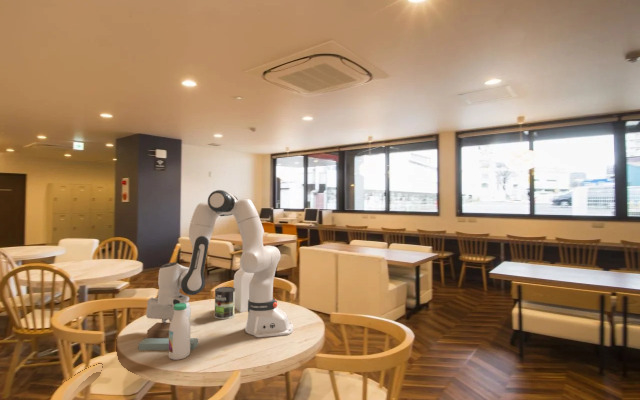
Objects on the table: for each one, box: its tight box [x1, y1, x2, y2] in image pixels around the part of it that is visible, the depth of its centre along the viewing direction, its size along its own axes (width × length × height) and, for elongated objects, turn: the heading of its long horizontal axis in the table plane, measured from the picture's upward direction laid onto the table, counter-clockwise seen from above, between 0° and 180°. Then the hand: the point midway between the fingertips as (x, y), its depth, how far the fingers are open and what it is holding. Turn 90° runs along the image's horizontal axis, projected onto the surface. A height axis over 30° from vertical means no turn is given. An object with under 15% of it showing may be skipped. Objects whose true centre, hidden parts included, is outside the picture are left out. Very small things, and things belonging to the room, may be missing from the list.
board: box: [138, 337, 199, 351], centre depth 133 cm, size 22×5×3 cm, turn 92°
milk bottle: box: [168, 303, 191, 361], centre depth 126 cm, size 8×8×20 cm
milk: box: [233, 267, 254, 313], centre depth 183 cm, size 12×12×26 cm
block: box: [146, 321, 170, 338], centre depth 142 cm, size 9×9×5 cm
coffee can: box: [214, 286, 235, 320], centre depth 170 cm, size 10×10×14 cm
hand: (168, 328), depth 148 cm, fingers closed
